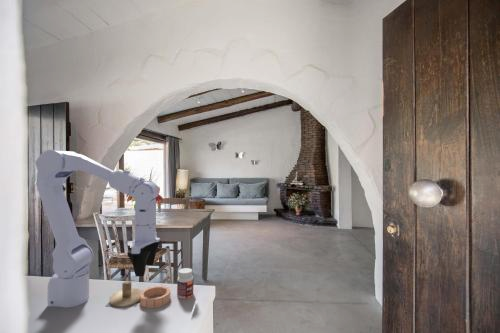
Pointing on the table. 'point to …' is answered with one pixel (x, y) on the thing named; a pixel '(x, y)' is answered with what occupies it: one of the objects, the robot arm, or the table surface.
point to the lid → (125, 296)
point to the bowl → (154, 302)
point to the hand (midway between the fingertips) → (144, 270)
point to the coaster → (129, 305)
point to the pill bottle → (185, 283)
